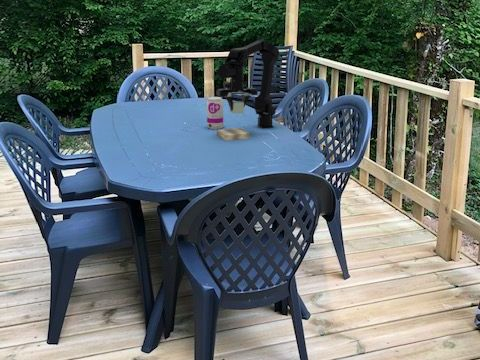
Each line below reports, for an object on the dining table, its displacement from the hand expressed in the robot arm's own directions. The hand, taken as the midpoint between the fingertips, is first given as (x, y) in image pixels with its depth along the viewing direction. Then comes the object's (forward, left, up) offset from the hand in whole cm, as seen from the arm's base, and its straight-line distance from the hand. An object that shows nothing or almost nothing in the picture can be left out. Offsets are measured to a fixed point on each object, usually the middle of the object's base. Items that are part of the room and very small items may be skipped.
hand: (236, 110), depth 269 cm
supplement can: (+4, -19, -12) cm, 23 cm away
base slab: (+3, +3, -12) cm, 13 cm away
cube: (0, 0, -1) cm, 1 cm away
